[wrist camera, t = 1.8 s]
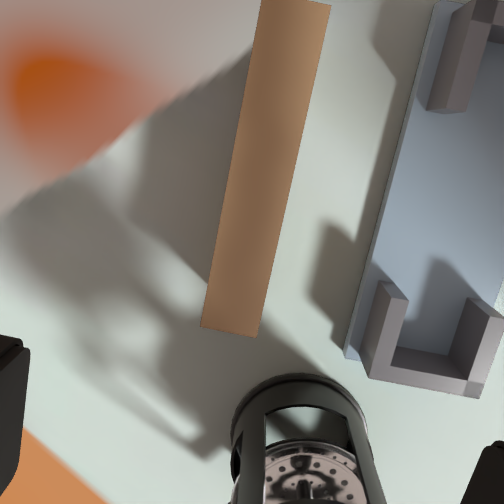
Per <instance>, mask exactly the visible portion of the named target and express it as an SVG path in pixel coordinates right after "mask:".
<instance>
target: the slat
mask: <svg viewBox="0 0 504 504" xmlns="http://www.w3.org/2000/svg"><path fill="white" fill-rule="evenodd" d="M330 9H331V5H327V4H322V3H317V2H313V1H308V0H262V1H261V6H260V11H259V17H258V23H257V27H256V32H255V38H254V43H253V48H252V53H251V59H250V64H249V69H248V75H247V80H246V85H245V90H244V96H243V101H242V106H241V112H240V117H239V122H238V127H237V133H236V138H235V143H234V149H233V154H232V159H231V164H230V170H229V175H228V180H227V186H226V191H225V196H224V201H223V207H222V212H221V217H220V223H219V228H218V233H217V238H216V244H215V249H214V254H213V260H212V265H211V270H210V275H209V281H208V286H207V291H206V297H205V302H204V307H203V312H202V318H201V323H200V327H204V328H209V329H214V330H218V331H223V332H228V333H233V334H238V335H243V336H248V337H253V338H256V337H257V333H258V329H259V324H260V320H261V315H262V311H263V306H264V302H265V298H266V293H267V289H268V284H269V280H270V275H271V271H272V266H273V262H274V258H275V253H276V249H277V244H278V240H279V235H280V231H281V227H282V222H283V218H284V213H285V209H286V204H287V200H288V196H289V191H290V187H291V182H292V178H293V173H294V169H295V164H296V160H297V156H298V151H299V147H300V142H301V138H302V133H303V129H304V125H305V120H306V116H307V111H308V107H309V102H310V98H311V94H312V89H313V85H314V80H315V76H316V71H317V67H318V63H319V58H320V54H321V49H322V45H323V40H324V36H325V31H326V27H327V23H328V18H329V14H330Z"/></svg>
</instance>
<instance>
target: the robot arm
mask: <svg viewBox="0 0 504 504" xmlns="http://www.w3.org/2000/svg"><path fill="white" fill-rule="evenodd" d="M29 364H30V350H29V348H25V347H23V342H22V340H21V339H19V338H14V337H9V336H5V335H0V496H1V495H2V493H3V491H4V490H5V489H6V488H7V486H8V485H9V483H10V482H11V480H12V479H13V477H14V475H15V472H16V470H17V467H18V463H19V456H20V447H21V437H22V428H23V419H24V410H25V401H26V391H27V382H28V373H29ZM460 504H504V441H500V440H499V441H495V442H494V443H493V444H492V445H491V446H486V447H485V448H484V449H483V451H482V453H481V456H480V458H479V460H478V463H477V465H476V467H475V470H474V472H473V475H472V477H471V479H470V482H469V484H468V486H467V489H466V491H465V494H464V496H463V498H462V501H461V503H460Z"/></svg>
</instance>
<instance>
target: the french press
mask: <svg viewBox="0 0 504 504" xmlns="http://www.w3.org/2000/svg"><path fill="white" fill-rule="evenodd" d="M291 407H312V408H320V409H323V410H326V411H329V412H332V413H334V414H336V415H338V416H340V417H342V418H344V419H345V422H346V426H347V429H348V433H349V440H348V444H347V448H346V447H344V446H341V445H339V444H337V443H334V442H330V441H327V440H323V439H316V438H293V439H287V440H282V441H279V442H276V443H273V444H270V445H268V446H266V415H268V414H270V413H273V412H275V411H277V410H281V409H286V408H291ZM230 434H231V445H232V453H231V462H230V465H231V475H232V478H233V481H234V487H233V490H232V496H231V501H230V502H229V503H228V504H387V502H386V499H385V496H384V493H383V490H382V487H381V484H380V480H379V477H378V474H377V471H376V468H375V465H374V458H373V454H372V450H371V446H370V443H369V440H368V436H367V425H366V420H365V417H364V414H363V412H362V410H361V408H360V406H359V404H358V403H357V401H356V400H355V399H354V398H353V396H352V395H351V394H350V393H349V392H347V391H346V390H345V389H344V388H343V387H341V386H340V385H338V384H337V383H335V382H333V381H331V380H329V379H326V378H323V377H320V376H317V375H311V374H304V373H297V374H286V375H281V376H277V377H274V378H271V379H269V380H267V381H264V382H262V383H261V384H259V385H258V386H256V387H255V388H253V389H252V390H251V391H250V392H249V393H248V394H247V395H246V396H245V397H244V398H243V400H242V401H241V403H240V404H239V406H238V407H237V409H236V411H235V414H234V417H233V419H232V426H231V433H230Z"/></svg>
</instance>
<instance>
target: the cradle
mask: <svg viewBox="0 0 504 504" xmlns="http://www.w3.org/2000/svg"><path fill="white" fill-rule="evenodd" d="M503 279H504V2H503V1H498V0H471V1H470V2H468V3H467V4H462V3H457V2H452V1H447V0H440V1H438V2H437V3H436V4H435V5H434V8H433V12H432V16H431V20H430V23H429V27H428V31H427V35H426V38H425V42H424V46H423V50H422V54H421V57H420V61H419V65H418V69H417V72H416V76H415V80H414V84H413V87H412V91H411V95H410V99H409V103H408V106H407V110H406V114H405V118H404V121H403V125H402V129H401V133H400V136H399V140H398V144H397V148H396V152H395V155H394V159H393V163H392V167H391V170H390V174H389V178H388V182H387V185H386V189H385V193H384V197H383V201H382V204H381V208H380V212H379V216H378V219H377V223H376V227H375V231H374V234H373V238H372V242H371V246H370V250H369V253H368V257H367V261H366V265H365V268H364V272H363V276H362V280H361V283H360V287H359V291H358V295H357V299H356V302H355V306H354V310H353V314H352V317H351V321H350V325H349V329H348V332H347V336H346V340H345V344H344V347H343V354H344V357H345V359H351V360H356V361H361V362H362V364H363V366H364V369H365V371H366V374H367V376H368V378H370V379H375V380H380V381H386V382H391V383H396V384H402V385H407V386H412V387H417V388H423V389H428V390H433V391H439V392H444V393H449V394H454V395H460V396H465V397H470V398H476V399H479V398H480V396H481V393H482V390H483V387H484V384H485V382H486V379H487V376H488V373H489V371H490V368H491V365H492V362H493V360H494V357H495V354H496V351H497V349H498V346H499V343H500V340H501V337H502V335H503V332H504V316H502V315H501V314H500V313H499V312H497V311H496V310H495V309H494V308H493V307H494V304H495V301H496V299H497V296H498V293H499V290H500V287H501V284H502V281H503Z"/></svg>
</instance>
